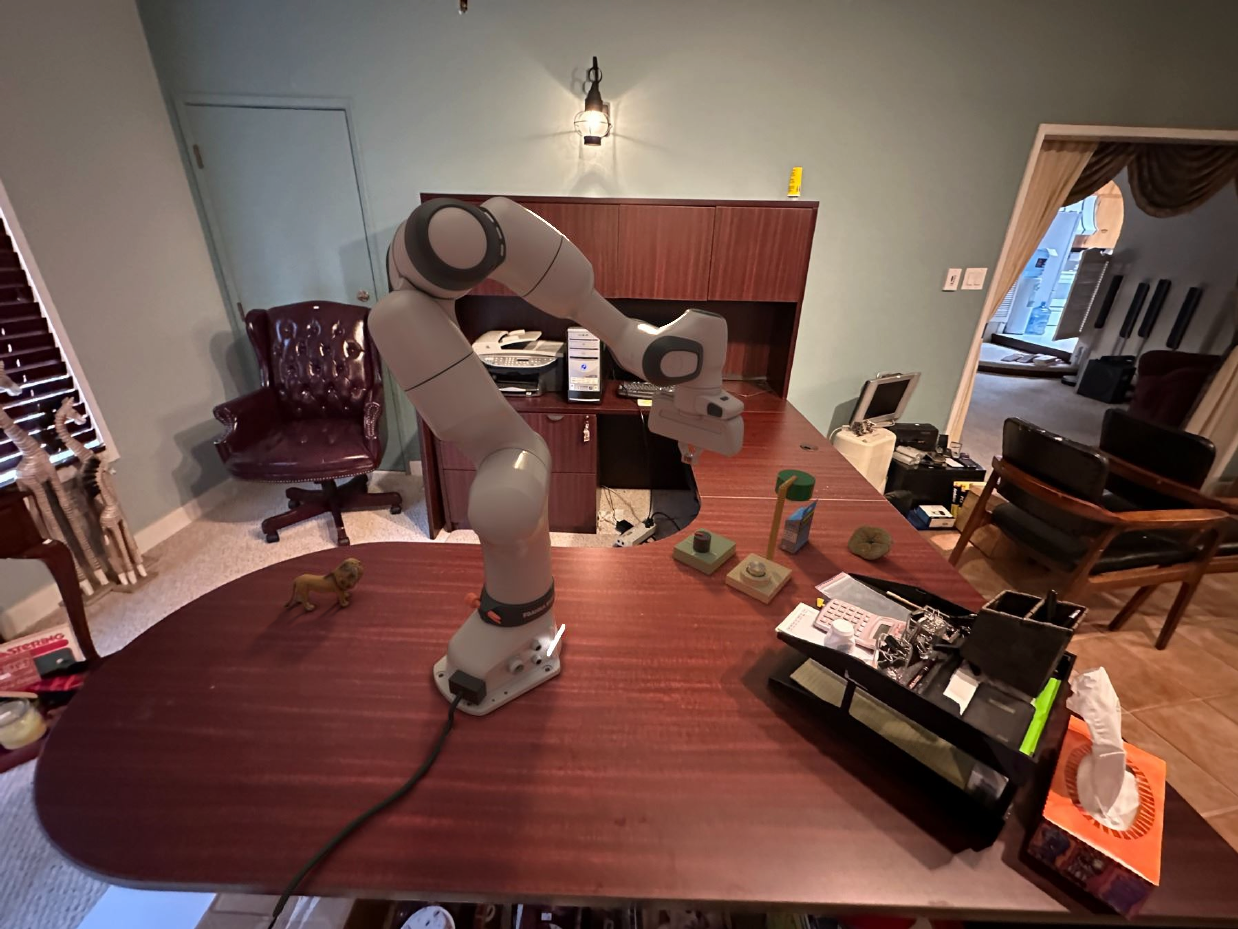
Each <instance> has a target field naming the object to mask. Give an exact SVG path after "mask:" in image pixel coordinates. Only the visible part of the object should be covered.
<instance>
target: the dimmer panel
mask: <svg viewBox="0 0 1238 929" xmlns="http://www.w3.org/2000/svg"><path fill="white" fill-rule="evenodd" d="M697 531H705V532H708V533H710V534H711V536H712V537H711V544H710V550H709V551H708V552H706V553H700V552H697V551H695V550H694V549H693V539H694V533H695V532H697ZM736 549H737V542H736V541H733V540H731V539H729V538H726V537H724V536H722V535H719V534H717V533H715V532H713V531H711V530H708V529H706V528H703V527H699V528H698V529H697V530H695V531H694V532H693V533H691V534H690V535H688V536H687V537H685V538H684V539H683V540H681V541H679V543H677V544H675V545H674V546H673V550H672V558H673V559H675V560H678V561H679V562H682V563H683V564H685V565H688V566H690V567H692V568H694V569H696V570H698V571H700V572H702V573H703V574H706V575H708V576H710V575H711V574H713V573H714V572H715V571H716V570H717V569H719V567H721V566H722V565H723V564H724V563H725V562H726V561H728V559H731V557H732V556H733V555H735V554H736Z"/></svg>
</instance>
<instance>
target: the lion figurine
mask: <svg viewBox="0 0 1238 929" xmlns="http://www.w3.org/2000/svg"><path fill="white" fill-rule="evenodd" d="M363 575H364V568H363V566H362V563H361V561H360V560H358V559H357V558H354V557H349V558H346V559H344V560H343V562H341V564H340V565H339V566H337V567H336V568H335V569H333V570H331V571H330V572H329V573H328V574H324V575H315V574H311V573H305V574H301V575H299V576H297V577H296V578H294V580H293V581H292V584H291V592H290V598H289V600H288V602H286V604H284V606H283V608H288V607H290V606H291V605H292V603H293V601H294V597H295V600H296V602H298V603H302V605H303V607H305V609H306V610H307V611H308V612H309V611H310V612H311V611H312V610H314V609H315V606H314V605H313V604H310V603H308V602H309V601H308V598H309V594H310V591H313V592H316V593H319V594H330V593H331V594H332V593H334V594H335V595H336V597H337V599H338V602H339V604H340V605H341V607H343V608H346V607H347V606H349V604H350V603H349V601H346V599H347V598H348V597H349V596H350V594H349V593H348V592H347V591H349V590H353V589H354V588H355V586H356V584H358V582H359V581H360V580H361V579H362V577H363Z"/></svg>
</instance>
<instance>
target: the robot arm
mask: <svg viewBox="0 0 1238 929" xmlns="http://www.w3.org/2000/svg"><path fill="white" fill-rule="evenodd" d="M385 270H386V271H385V272H386V278H387V279H386V280H387V289H388V293H387V294H385V295H384V296H382V297H381V298H380V299H379V300H377V302H376V303H375V304H374V305H373V307H372V308H371V310H370V311H369V314H368V317H367V326H368V327H367V328H368V331H369V333H370V336H371V339H372V340H373V343H374V345H375V346H376V349H377V350H378V353H379V355H380V356H381V358H382V360H383V362H384V364H385V365H386V367H387V369H388V371H389V372H390V374H391V375H392V377H393V379H394V380H395V382H396V383H397V384H398V386H399V388H400V389H401V390H402V392H403V393H404V394H405V396H406V397H407V399H408V401H410V403H411V404H412V405H413V407H414V408H415V409H416V411H417V412H418V414H419V415H420V416H421V418H422V420H423V421H424V422H425V424H426V425H427V426H428V428H429V429H430V430H431V432H432V433H433V435H434V436H435V437H436V438H437V439H438V440H440V441H442V442H444V443H449V444H450V445H452V446H453V447H455V448H456V449H457V450H459V451H460V453H462V454H463V455H464V456H465V457H466V458H467V459H468V460H470V462H471V463H472V464H473V466H474V469H475V472H476V474H475V476H474V478H473V481H472V482H471V485H470V487H469V491H468V499H467V518H468V523H469V526H470V528H471V529H472V531H473V533H474V534H475V535H476V536H477V538H478V541H479V544H480V548H481V555H482V562H483V573H484V574H483V576H484V583H483V586H482V588H481V592H480V596H477V595H476V594H475V593H474V592H469V593H467V594H465V597H464V600H463V602H464V604H465V605H467V606H469V608H471V609H474V610H473V612H471V613H470V615H469V616H468V618H467V619H466V620H465V621H464V622H463V623H462V624H461V626H460V627H459V628H458V630H456V632H455V633H454V634H453V636H452V637H450V639H449V641H448V644H447V647H446V654H445V655H444V656H443V657H441V658H440V659H439V660H438V661H437V662H436V663H435V664H434V665H433V681H434V683H435V686H436V688H437V689H438V691H439V692H440V693H441V695H442V696H443V697H444V698H445V699H446V700H447V701H448V702H449V703H450V706H449V708H448V711H447V721H446V723H445V726H444V729H443V731H442V733H441V736H440V738H439V741H438V743H437V744H436V745H435V748H434V749H433V750H432V752H431V754H430V755H429V757H428V758H427V759H426V760H425V761H424V763H423V764H422V765H421V767H420V768H419V769H418V770H417V771H416V772H415V774H413V775H412V777H411V778H410V779H409V780H408V781H407V782H406V783H404V784H403V785H402V786H401V787H400V788H398V789H397V790H396V791H395V792H393V793H392V794H391V795H389V796H388V797H386V798H385V799H384V800H382V801H380V802H379V803H377V804H375V805H374V806H373V807H371V808H369V809H368V810H366V811H365V812H363V813H362V814H361V815H359V816H358V817H356V818H355V819H353V820H352V821H351V822H350V823H348V824H347V825H346V826H345V827H343V828H342V829H341V830H340V831H339V832H338V833H337V834H335V836H333V837H332V838H331V839H330V840H329V841H328V842H327V843H326V844H325V845H324V846H322V848H321V849H319V850H318V851H317V852H315V854H314V855H313V856H312V857H310V859H309V860H308V861H307V862H306V863H305V864H304V865H303V866H302V867H301V868H300V870H299V871H298V872H297V873H296V874H295V875H294V876H293V878H292V879H291V881H290V882H289V883H288V885H287V886H286V888H285V889H284V891H283V892H282V895H281V896H280V898H279V899H278V901H277V903H276V905H275V907H274V910H273V911H272V918H278V917H279V916H280V915H281V914H282V912H283V910H284V908H285V907H286V904H287V903H288V901H289V899H290V897H292V894H293V892H294V891H295V890H296V888H297V887H298V885H299V884H300V883H301V881H302V880H304V877H305V876H306V875H307V874H308V873H309V872H310V871H311V870H312V868H313V867H314V866H316V864H318V863H319V861H321V860H322V858H324V857H325V856H326V855H327V854H328V853H329V852H330V851H331V850H332V849H333V848H334V847H336V846H337V845H338V844H339V843H340V842H341V841H342V840H343V839H344V838H345V837H346V836H348V835H349V834H350V833H351V832H353V831H354V830H355V829H356V828H357V827H358V826H361V825H362V824H363V823H364V822H366V821H367V820H368V819H370V818H371V817H373V816H374V815H376V814H378V813H379V812H380V811H382V810H384V809H385V808H387V807H388V806H390V805H391V804H393V803H395V802H396V801H397V800H399V798H401V797H402V796H403V795H405V794H406V793H407V792H408V791H409V790H410V789H411V788H412V787H413V786H414V785H415V784H416V783H417V782H418V781H419V780H420V778H421V777H422V776H423V775H424V774H425V773H426V772H427V771H428V769H429V768H430V767H431V765H432V764H433V762H434V761H435V760H436V758H437V756H438V754H439V752H440V749H441V746H442V744H443V743H444V740H445V738H446V737H447V736H448V734H449V732H450V731H451V729H452V726H453V723H454V721H455V711H456V709H458V710H460V711H461V712H463V713H465V714H469V715H471V716H472V715H473V716H478V717H483V716H485V715H487V714H490V713H491V712H493V711H495V710H496V709H498V708H500V707H502V706H503V705H505V704H507V703H509V702H511V701H512V700H514V699H517V698H518V697H520V696H522V695H524V694H525V693H527V692H528V691H529V692H530V690H532V689H534V688H536V687H538V686H539V685H541V684H543V683H545V682H547V681H549V680H550V679H552V678H554V677H556V676H557V675H559V674H560V672H561V670H562V669H561V668H562V666H561V661H560V655H561V652H562V648H563V640H562V639H563V638H562V636H561V635H562V634H563V632H564V631H565V628H566V627H565V626H566V625H565V624H562V625H561V627H560V629H559V628H558V625H557V621H556V616H555V609H554V603H555V600H556V596H555V595H556V591H555V590H556V588H555V579H554V576H553V573H552V571H553V570H552V567H553V566H552V540H551V534H550V522H549V497H550V488H551V487H550V486H551V476H552V470H553V469H552V468H553V460H552V456H551V452H550V449H549V446H548V444H547V442H546V440H545V438H543V436H541V435H540V434H539V433H538V432H536V431H535V430H533V428H532V427H531V426H530V425H529V424H528V423H527V421H526V420H525V419H524V418H523V417H522V416H521V415H520V414H519V413H518V412H517V411H516V410H515V409H514V407H513V406H512V405H511V404H510V403H509V401H508V400H507V398H506V397H505V396H504V395H503V393H502V391H501V390H500V389H499V387H498V386H497V384H496V383H495V380H494V379H493V378H492V376H491V374H490V373H489V371H488V370H487V368H486V367H485V365H484V363H483V362H482V360H481V358H480V357H479V356H478V354H477V353H476V351H475V350H474V348H473V346H472V345H471V343H470V341H469V340H468V338H467V337H466V336H465V334H464V333H463V331H462V330H461V327H460V324H459V322H458V319H457V316H456V310H455V305H456V300H458V299H461V298H462V297H464V296H465V295H467V294H468V293H469V292H471V291H472V290H473V289H474V288H476V287H477V286H479V285H481V284H482V283H483V282H485V280H487V279H490V280H494V281H496V282H498V283H500V284H502V285H504V286H505V287H506V288H508V289H509V290H510V291H512V292H513V293H514V294H516V295H517V296H518V297H520V298H521V299H522V300H524V301H525V302H527V303H529V304H531V305H532V306H533V307H535V308H537V309H538V310H540V311H542V312H543V313H545V314H548V315H551V316H553V317H555V318H558V319H568V320H571V321H573V322H575V323H577V324H578V325H579V326H580V327H582V328H583V329H585V330H586V331H587V332H589V333H590V334H591V335H593V336H594V337H596V339H598V340H600V341H601V342H602V343H603V344H604V345H605V346H606V348H607V349H608V351H609V353H610V355H611V357H612V358H613V360H614V362H615V363H616V364H617V366H618V367H620V369H622V370H623V371H626V372H628V373H631V374H633V375H634V376H636V377H637V378H640V379H642V380H643V381H645V382H647V383H648V384H650V385H652V386H655V387H659V388H658V389H656V390H655V391H654V392H652V395H651V406H650V410H649V413H648V420H647V427H648V430H649V431H650V432H651V433H654V434H656V435H660V436H662V437H666V438H668V439H672V440H675V441H678V442H677V447H678V449H679V451H680V454H681V460H680V461H681V462H682V463H685V464H688V465H690V466H693V467H695V466H696V465H698V463H699V460H700V459H699V457H700V456H701V455H702V454H703V453H704V451H705V450H706V451H708V452H712V453H715V454H719V455H721V456H725V457H727V458H731V457H734V456H735V455H737V454H738V453H740V452H741V451H742V448H743V444H744V434H745V423H744V420H743V419H744V418H743V417H742V416H741V414H743V412H744V409H745V404H744V402H743V401H741V400H740V399H738V398H737V397H735V396H734V395H732V394H731V393H729V392H727V391H726V390H725V389H723V388H722V387H723V378H722V372H723V367H724V366H725V364H726V358H727V351H728V350H727V349H728V324H727V321H726V318H724V316H723V315H721V314H719V313H716V312H711V311H707V310H703V309H699V308H688V309H686V310H685V311H684V313H683V314H682V315H681V316H680V317H678V318H677V319H675V320H674V321H672V322H671V323H669V324H667V325H664V326H661V327H658V326H655V325H653V324H651V323H649V322H648V321H646V320H645V321H644V320H641V319H637V318H631V317H629V316H626V315H624V314H623V313H622V312H621V311H619V309H617V308H616V307H615V306H614V305H613V304H611V303H610V302H609V301H608V300H607V299H605V298H604V297H603V296H602V295H601V294H600V293H599V292H598V291H597V289H596V288H595V272H594V268H593V265H592V263H591V262H590V261H589V260H588V259H587V257H586V256H585V255H584V254H583V252H582V251H581V250H580V249H579V248H578V247H577V245H575V244H574V243H573V242H572V241H571V240H569V239H568V238H567V236H565V235H564V234H562V233H561V232H560V231H559V230H557V229H556V227H554V226H552V225H551V224H550V223H549V222H547V221H546V220H545V219H543V218H542V217H540V216H539V215H537V214H536V213H534V212H532V211H531V210H529V209H528V208H526V207H524V206H523V205H521V204H519V203H517V202H516V201H514V200H512V199H510V198H508V197H504V196H495V197H491V198H489V199H487V200H486V201H484V202H483V203H482V204H480V205H475V204H471V203H469V202H466V201H464V200H461V199H457V198H452V197H436V198H432V199H429V200H426V201H425V202H423V203H421V204H419V205H418V206H417V207H415V208H414V209H413V210H412V211H411V213H410V215H409V216H408V218H406V219H405V220H404V221H402V222H401V223H400V225H398V227H397V228H396V230H395V232H394V234H393V235H392V239H391V242H390V243H389V245H388V247H387V250H386V255H385ZM673 386H674V388H673V389H674V390H668V389H666V388H668V387H673ZM688 445H690V446H693V448H692V449H693V451H695V452H694V453H692V452H690V449H689V447H688Z"/></svg>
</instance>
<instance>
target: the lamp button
mask: <svg viewBox="0 0 1238 929" xmlns="http://www.w3.org/2000/svg"><path fill="white" fill-rule="evenodd" d="M747 572H748V574H750V575H752V576H754V577H763V576H764V573H765V565H764V564H763V563H761V562H758V561H751V562H749V564H748V569H747Z"/></svg>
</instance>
